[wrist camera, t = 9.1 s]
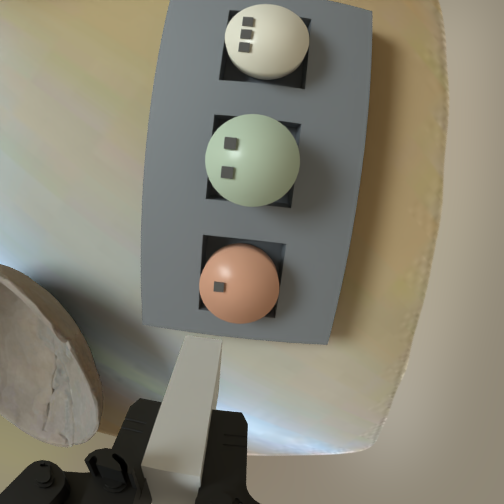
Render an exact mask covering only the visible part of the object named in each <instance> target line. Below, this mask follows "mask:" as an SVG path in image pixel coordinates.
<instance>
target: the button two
mask: <svg viewBox="0 0 504 504" xmlns="http://www.w3.org/2000/svg"><path fill="white" fill-rule="evenodd" d="M205 165H206V171H207V175H208V177H209V180H210V182H211V183H212V185H213V187H214V188H215V189H216V190H217V192H218V193H219V194H220V195H222V196H223V197H224V198H226V199H227V200H229V201H231V202H233V203H235V204H238V205H241V206H247V207H258V206H264V205H267V204H270V203H273V202H275V201H277V200H278V199H280V198H281V197H282V196H284V195H285V194H286V193H287V192H288V191H289V189H290V188H291V187H292V185H293V184H294V182H295V180H296V178H297V175H298V172H299V167H300V154H299V149H298V146H297V143H296V141H295V139H294V137H293V135H292V134H291V133H290V131H289V130H288V129H287V128H286V127H285V126H284V125H282V124H281V123H280V122H278V121H277V120H275V119H273V118H271V117H268V116H264V115H259V114H246V115H241V116H237V117H235V118H232V119H230V120H228V121H227V122H225V123H224V124H223V125H221V126H220V127H219V128H218V129H217V130H216V132H215V133H214V134H213V136H212V137H211V139H210V141H209V143H208V146H207V150H206V155H205Z"/></svg>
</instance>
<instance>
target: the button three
mask: <svg viewBox="0 0 504 504" xmlns="http://www.w3.org/2000/svg"><path fill="white" fill-rule="evenodd" d="M225 44H226V48H227V51H228V55H229V57H230V60H231V61H232V63H233V64H234V65H235V67H236V68H238V69H239V70H240V71H241V72H243V73H244V74H246V75H248V76H251V77H253V78H255V79H259V80H274V79H278V78H281V77H284V76H287V75H289V74H290V73H292V72H293V71H295V70H296V69H297V68H298V67H299V65H300V64H301V63H302V61H303V59H304V57H305V54H306V52H307V50H308V47H309V33H308V30H307V27H306V25H305V24H304V22H303V21H302V20H301V18H300V17H299V16H297V15H296V14H295V13H294V12H292V11H290V10H289V9H287V8H284V7H281V6H278V5H272V4H259V5H254V6H250V7H248V8H245V9H243V10H242V11H240V12H239V13H237V14H236V15H235V16H234V17H233V18H232V19H231V20H230V22H229V24H228V26H227V28H226V32H225Z"/></svg>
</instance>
